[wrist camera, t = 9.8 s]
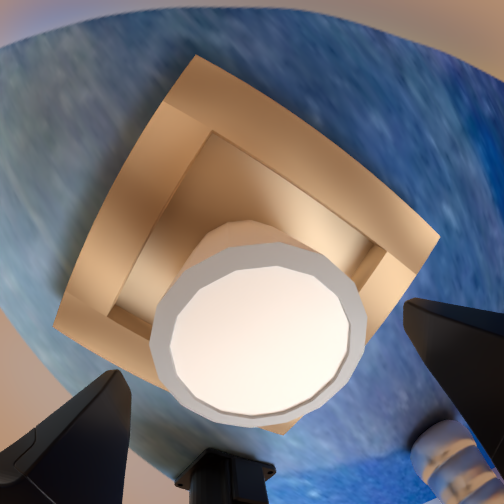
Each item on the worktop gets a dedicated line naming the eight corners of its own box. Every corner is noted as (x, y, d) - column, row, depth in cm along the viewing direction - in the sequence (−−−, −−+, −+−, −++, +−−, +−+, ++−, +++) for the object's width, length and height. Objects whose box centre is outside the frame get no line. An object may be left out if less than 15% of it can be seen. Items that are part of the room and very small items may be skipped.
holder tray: (276, 409, 20) (283, 435, 17) (69, 307, 16) (52, 326, 14) (416, 227, 17) (440, 236, 15) (199, 70, 14) (195, 54, 11)
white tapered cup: (322, 312, 17) (375, 393, 10) (202, 349, 17) (198, 445, 10) (293, 189, 15) (351, 211, 8) (155, 231, 15) (110, 285, 8)
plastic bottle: (451, 400, 23) (563, 542, 3) (459, 428, 24) (547, 547, 5) (395, 441, 23) (486, 601, 4) (411, 463, 25) (485, 594, 6)
